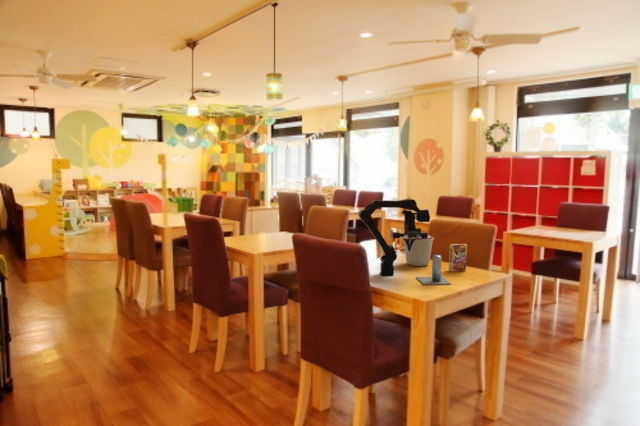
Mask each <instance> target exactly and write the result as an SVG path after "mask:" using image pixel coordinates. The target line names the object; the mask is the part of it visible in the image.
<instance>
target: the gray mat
mask: <svg viewBox="0 0 640 426" xmlns="http://www.w3.org/2000/svg"><path fill="white" fill-rule="evenodd" d="M415 279H416V280H417V281H418V282H419V283H420V284H422V285H423V286H434V285H435V286H436V285H437V286H440V285H441V286H444V285H445V286H446V285H447V286H449V285H450V286H451V285H452V282H450V281H449V280H447V279H446V277H443V276H441V282H433V281H432V276H416V277H415Z"/></svg>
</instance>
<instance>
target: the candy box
mask: <svg viewBox="0 0 640 426" xmlns="http://www.w3.org/2000/svg"><path fill="white" fill-rule="evenodd" d="M448 251H449V252H448V253H449V254H448V271H450V272H466V271H467V252H468V244H466V243H450V244H449V250H448Z"/></svg>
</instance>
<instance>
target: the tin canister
mask: <svg viewBox="0 0 640 426" xmlns="http://www.w3.org/2000/svg"><path fill="white" fill-rule="evenodd" d="M442 260H443V258H442V255H441V254H432V260H431V261H432V265H431V277H432V281H433V282H441V277H442Z"/></svg>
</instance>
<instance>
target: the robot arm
mask: <svg viewBox="0 0 640 426" xmlns="http://www.w3.org/2000/svg"><path fill="white" fill-rule="evenodd" d="M378 208H391V209H393V208H396V209H397V208H399V209H402V210H401V211H400V214H402V215H404V217H403V218H404V223H403V233H401V232H399V231H392V232H391V234H390V236H391V238H392V239H400V238H401V239H402V240H403V241H405V243H406V246H407V249H408V251H410V250H411V247H412V244H413V242H414V241H415V240H417V237H421V238H428V235H429V234H428V233H427V232H426V231H422V229H421V228H419V227H417V228H416V221H417V222H418V223H429V222H430V221H431V215H430V210H429V209H420V208H419V207H418V204H417V201H416V199H413V198H404V199H403V198H402V199H399V200H382V199H380V200H377V199H374V200H372V201H371V202H370V203H369V204H368V205H366V206H365V208H363V209H360V210H359V211H358V215H357V216H358V218H359V219H360V221H362V223H364V224H365V225H366V226H367V228H368V229H369V230H370V232H371V234H372V236H373V237H374V238H375V240H376V242H377V243H378V245H379V246H380V249H381V251H382V254H383V255H382V256H380V258H379V260H380V265H379V267H380V269H379V270H380V272H379V274H380V276H382V277H383V276H384V277H387V276H388V277H389V276H390V277H391V276H392V277H393V276H394V274H395V266H394V262H395V261H396V260H397V259H398V255H397V253H398V252H397V251H396V250H395V248H394V246H393V245H391V244H388V243H387V241H386V240H385V238H384V236H383V235H382V234H381V231H379V229H378V227H377V226H376V224H375V223H374V222H375V221H374V219H373V217H372V215H373V214H374V212H376V210H378ZM408 237H409V239H408Z"/></svg>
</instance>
